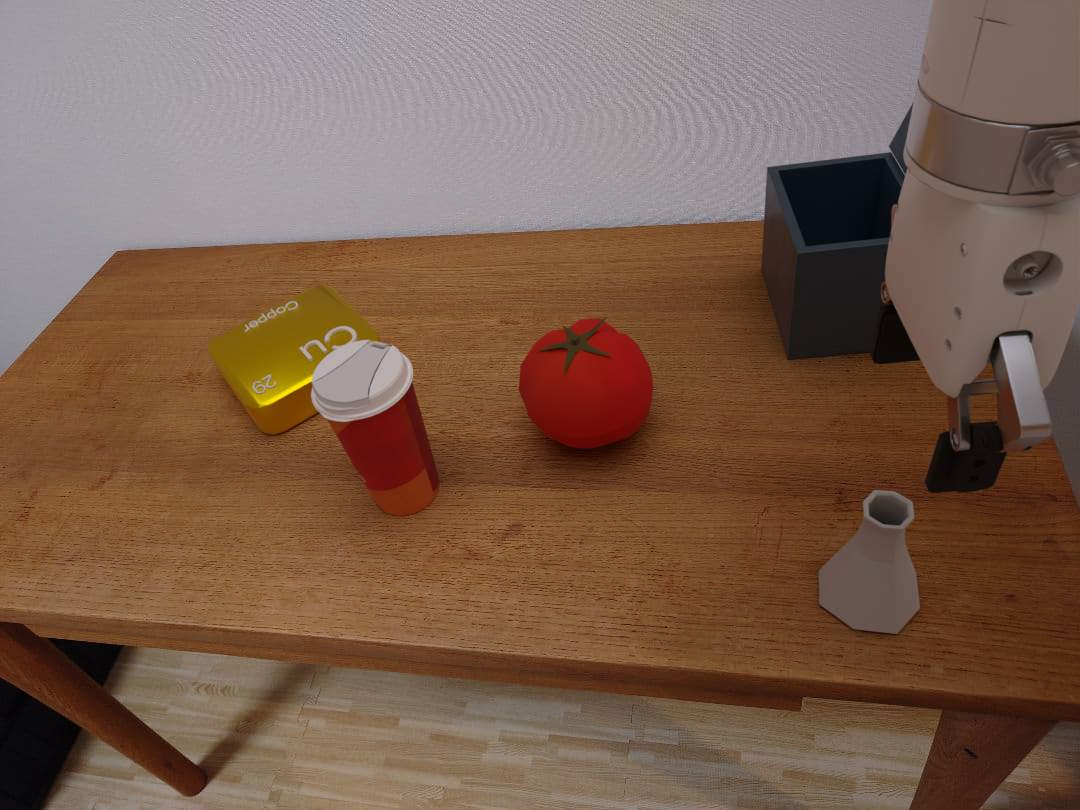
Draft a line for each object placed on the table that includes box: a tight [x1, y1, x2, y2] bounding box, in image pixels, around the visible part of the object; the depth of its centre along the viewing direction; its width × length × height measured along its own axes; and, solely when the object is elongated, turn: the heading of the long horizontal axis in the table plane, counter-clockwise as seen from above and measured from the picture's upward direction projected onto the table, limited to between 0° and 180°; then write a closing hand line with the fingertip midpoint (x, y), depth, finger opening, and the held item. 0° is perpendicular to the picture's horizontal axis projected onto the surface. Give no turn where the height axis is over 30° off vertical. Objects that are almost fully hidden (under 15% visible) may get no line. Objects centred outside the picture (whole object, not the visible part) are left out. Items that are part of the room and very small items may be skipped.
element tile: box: [207, 284, 383, 435], centre depth 85 cm, size 15×15×5 cm
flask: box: [818, 489, 921, 635], centre depth 56 cm, size 7×7×10 cm
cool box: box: [760, 151, 905, 360], centre depth 77 cm, size 12×15×12 cm
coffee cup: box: [311, 340, 440, 517], centre depth 68 cm, size 8×8×15 cm
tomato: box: [518, 315, 654, 450], centre depth 71 cm, size 12×12×11 cm
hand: (925, 417), depth 44 cm, fingers open, 9 cm apart
